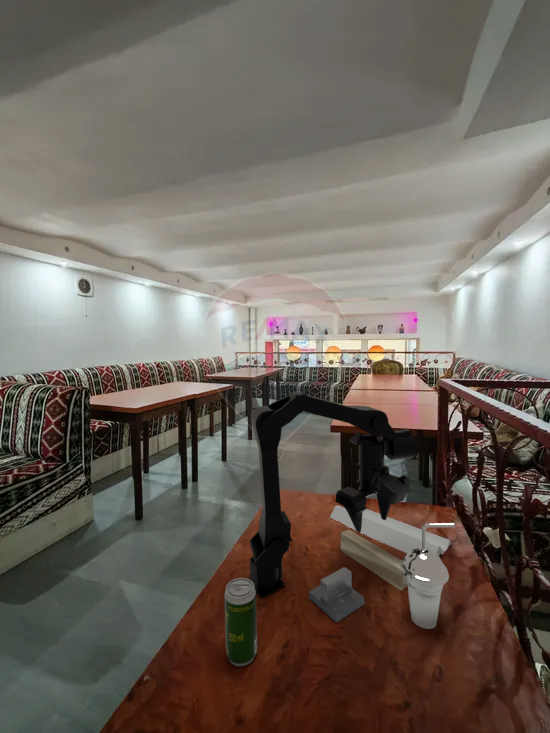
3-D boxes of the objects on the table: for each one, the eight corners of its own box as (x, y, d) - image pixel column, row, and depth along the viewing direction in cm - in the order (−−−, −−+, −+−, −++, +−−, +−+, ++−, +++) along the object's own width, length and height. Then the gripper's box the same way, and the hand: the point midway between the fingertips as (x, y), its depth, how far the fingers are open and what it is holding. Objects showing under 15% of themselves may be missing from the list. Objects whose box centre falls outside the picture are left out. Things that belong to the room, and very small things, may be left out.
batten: (400, 591, 75) (400, 569, 74) (340, 551, 89) (340, 532, 89) (408, 586, 76) (408, 564, 76) (348, 547, 91) (348, 529, 91)
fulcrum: (336, 622, 66) (336, 595, 66) (309, 598, 73) (308, 573, 72) (364, 604, 71) (364, 578, 70) (336, 582, 77) (336, 559, 77)
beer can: (256, 639, 63) (255, 575, 62) (258, 666, 57) (256, 597, 57) (226, 642, 62) (225, 578, 62) (225, 669, 57) (223, 600, 56)
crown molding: (451, 547, 91) (451, 533, 91) (432, 568, 83) (432, 553, 83) (350, 508, 114) (350, 497, 114) (328, 521, 106) (328, 509, 105)
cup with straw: (412, 596, 73) (413, 504, 71) (458, 621, 66) (459, 519, 65) (392, 618, 67) (392, 518, 66) (439, 648, 60) (441, 537, 59)
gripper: (373, 480, 69) (373, 556, 70) (425, 461, 80) (425, 527, 81) (333, 465, 78) (334, 532, 79) (385, 450, 89) (385, 509, 90)
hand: (371, 525), depth 82 cm, fingers open, 9 cm apart
